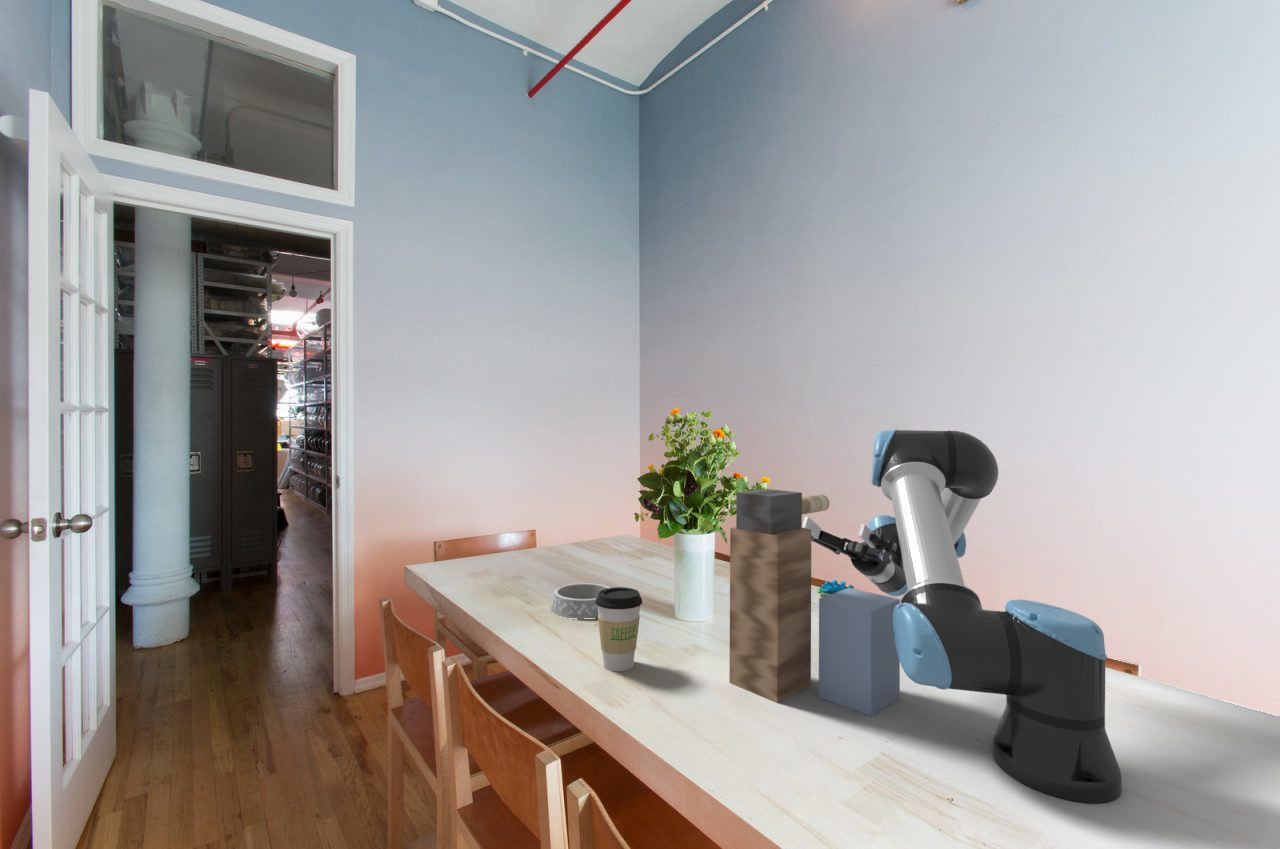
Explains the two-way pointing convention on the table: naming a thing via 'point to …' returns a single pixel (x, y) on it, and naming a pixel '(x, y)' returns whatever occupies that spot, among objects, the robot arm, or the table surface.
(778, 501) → the rubber mallet
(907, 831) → the table surface
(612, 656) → the coffee cup
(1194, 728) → the table surface
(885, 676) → the slate stand
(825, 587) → the blue knobbly piece
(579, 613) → the dog bowl
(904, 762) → the table surface
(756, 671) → the walnut pedestal
